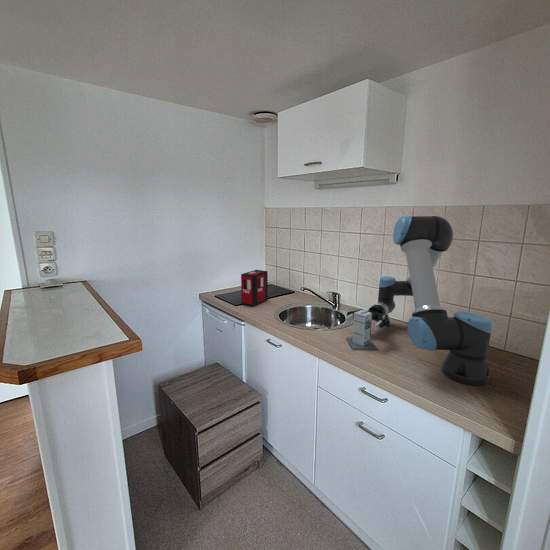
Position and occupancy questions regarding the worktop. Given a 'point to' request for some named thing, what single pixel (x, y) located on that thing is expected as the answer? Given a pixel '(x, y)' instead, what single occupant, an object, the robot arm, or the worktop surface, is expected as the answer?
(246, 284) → the cleaning product box
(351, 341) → the charcoal mat
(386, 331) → the worktop surface
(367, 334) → the syrup box
